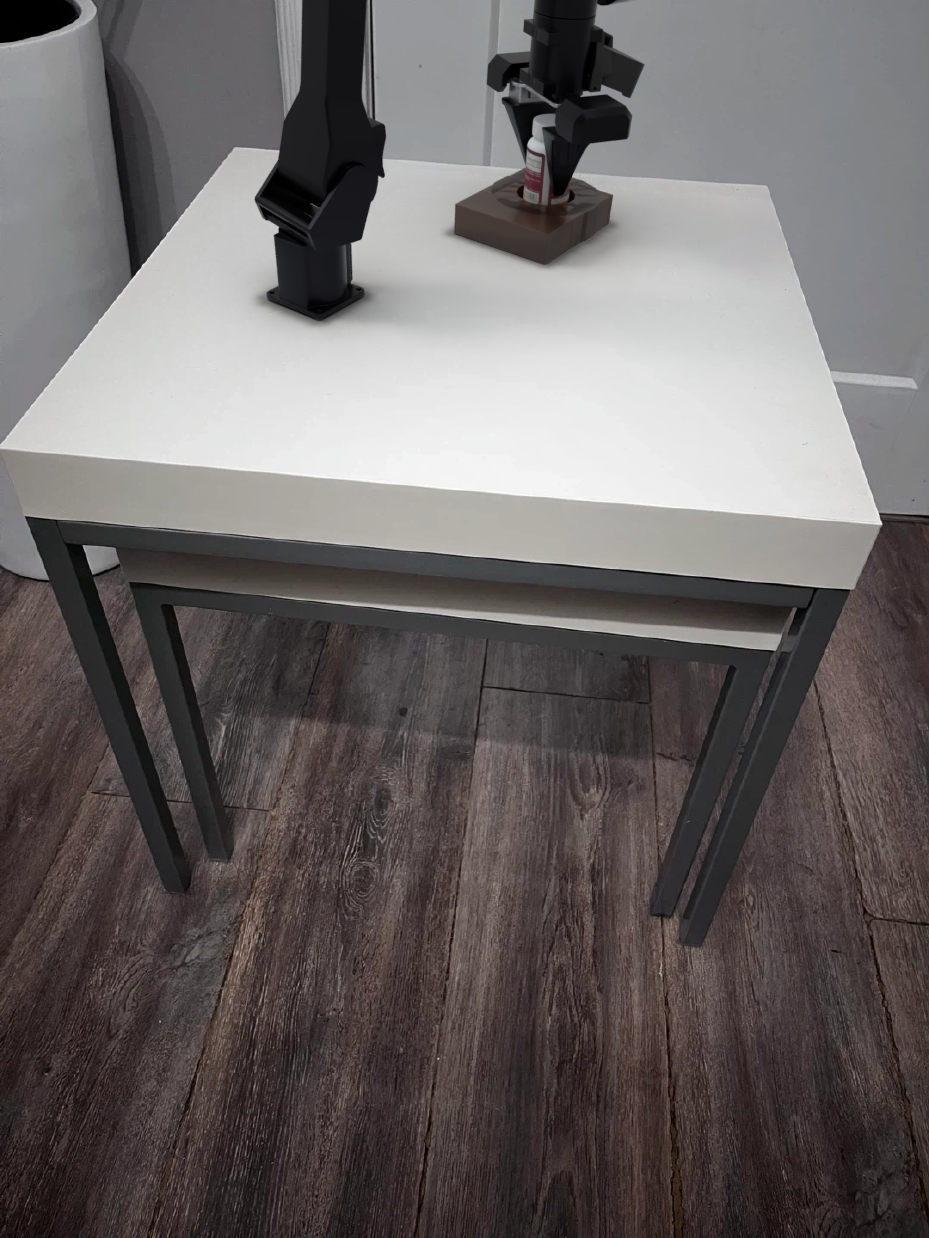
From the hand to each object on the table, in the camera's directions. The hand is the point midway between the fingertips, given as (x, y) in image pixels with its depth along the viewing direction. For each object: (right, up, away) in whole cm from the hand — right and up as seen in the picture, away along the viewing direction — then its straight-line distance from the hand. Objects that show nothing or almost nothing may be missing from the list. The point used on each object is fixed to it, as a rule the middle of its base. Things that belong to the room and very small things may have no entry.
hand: (546, 186), depth 99 cm
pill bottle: (0, -2, +2) cm, 2 cm away
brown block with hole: (-1, -4, +1) cm, 4 cm away
